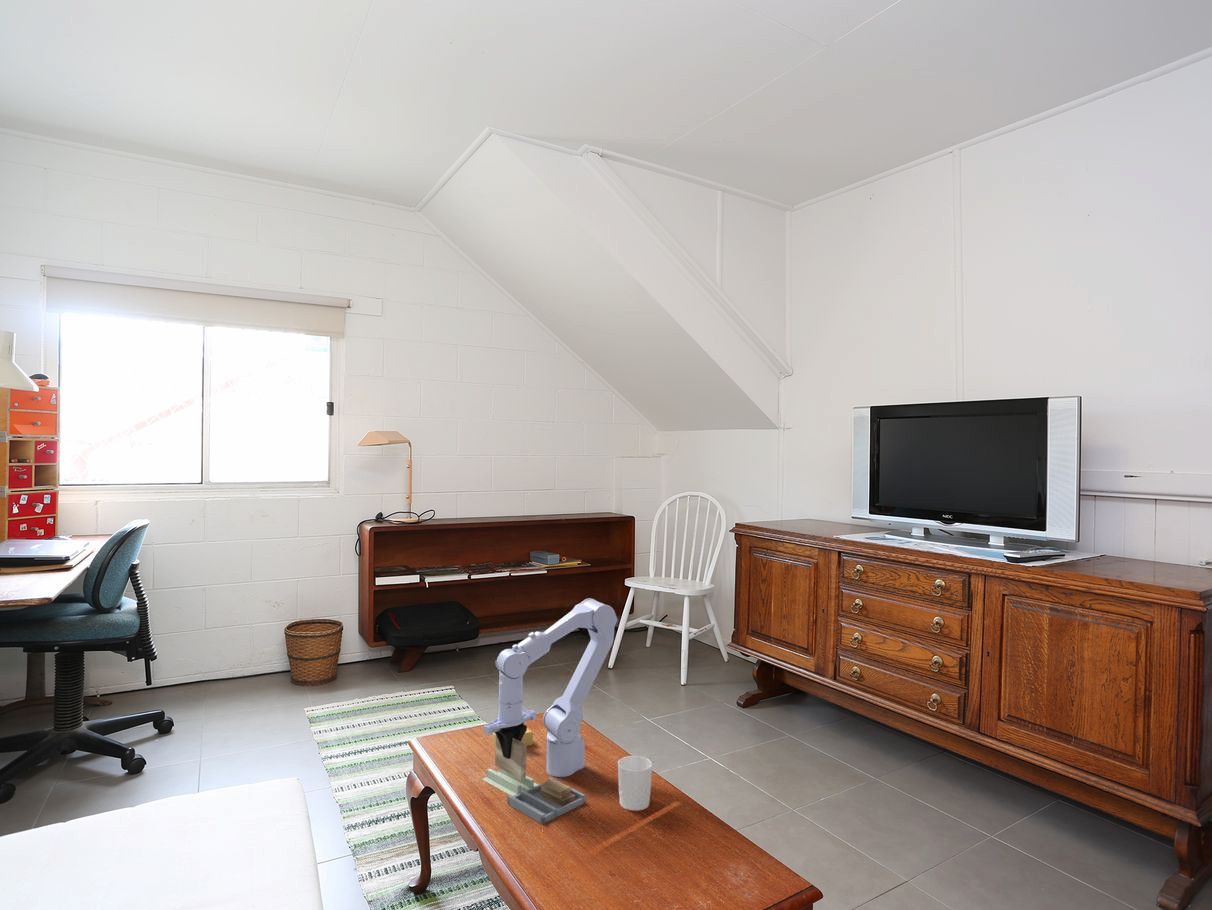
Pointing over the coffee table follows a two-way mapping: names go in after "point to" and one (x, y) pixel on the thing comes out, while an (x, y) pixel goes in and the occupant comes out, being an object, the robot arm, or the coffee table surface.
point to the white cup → (634, 782)
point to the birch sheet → (512, 759)
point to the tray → (542, 804)
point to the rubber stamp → (526, 740)
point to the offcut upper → (555, 788)
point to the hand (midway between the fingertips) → (510, 756)
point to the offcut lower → (559, 801)
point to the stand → (508, 782)
